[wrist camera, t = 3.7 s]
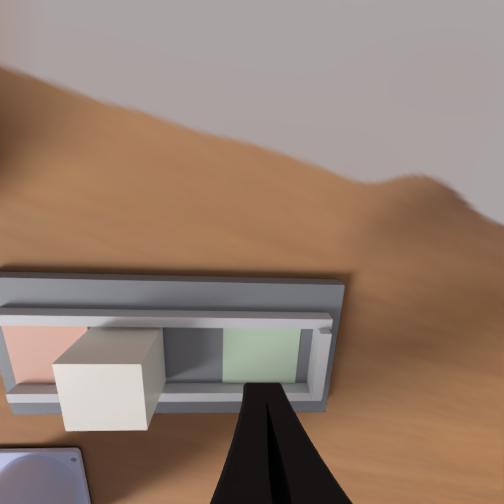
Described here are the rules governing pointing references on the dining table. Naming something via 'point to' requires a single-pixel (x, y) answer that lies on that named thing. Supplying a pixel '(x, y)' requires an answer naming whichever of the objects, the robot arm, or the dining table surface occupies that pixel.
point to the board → (175, 334)
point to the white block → (111, 378)
